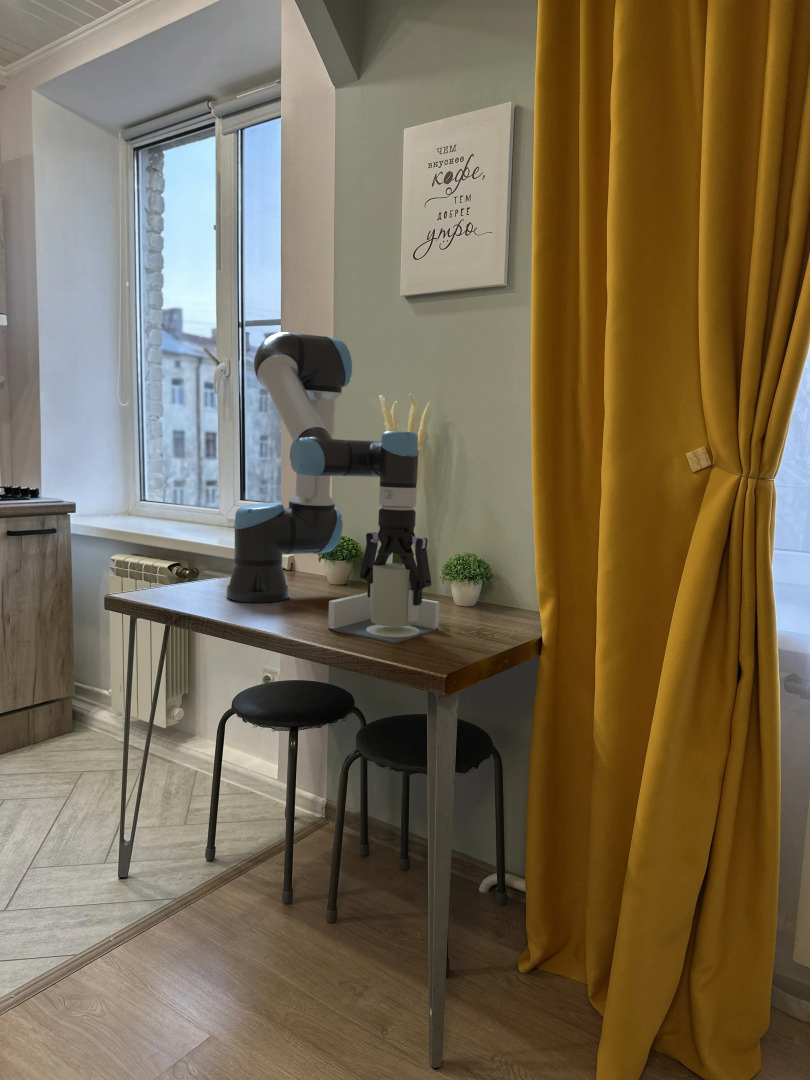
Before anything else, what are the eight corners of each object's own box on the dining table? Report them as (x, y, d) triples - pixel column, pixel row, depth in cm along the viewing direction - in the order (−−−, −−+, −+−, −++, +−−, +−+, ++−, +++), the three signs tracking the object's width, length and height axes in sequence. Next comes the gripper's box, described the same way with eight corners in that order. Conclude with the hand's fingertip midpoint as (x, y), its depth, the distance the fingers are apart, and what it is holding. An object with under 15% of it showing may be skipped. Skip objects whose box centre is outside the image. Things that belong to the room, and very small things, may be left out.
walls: (328, 629, 154) (328, 601, 153) (373, 617, 167) (374, 591, 166) (395, 643, 144) (396, 613, 144) (438, 629, 158) (439, 601, 157)
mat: (328, 629, 154) (328, 626, 154) (373, 617, 167) (374, 614, 167) (395, 643, 144) (395, 640, 144) (438, 629, 158) (438, 626, 157)
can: (420, 619, 156) (422, 563, 155) (408, 628, 147) (410, 569, 146) (379, 615, 159) (381, 559, 157) (364, 623, 150) (366, 565, 148)
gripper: (344, 505, 153) (341, 612, 156) (432, 512, 141) (427, 628, 144) (366, 503, 159) (362, 606, 162) (452, 511, 147) (447, 622, 150)
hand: (393, 617), depth 153 cm, fingers closed on can, 9 cm apart
